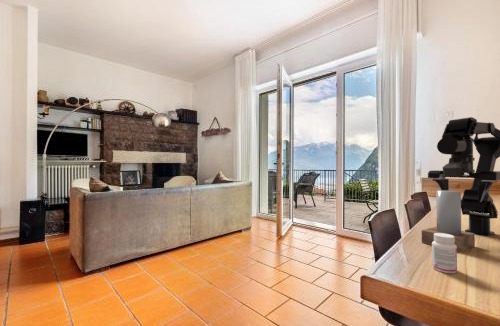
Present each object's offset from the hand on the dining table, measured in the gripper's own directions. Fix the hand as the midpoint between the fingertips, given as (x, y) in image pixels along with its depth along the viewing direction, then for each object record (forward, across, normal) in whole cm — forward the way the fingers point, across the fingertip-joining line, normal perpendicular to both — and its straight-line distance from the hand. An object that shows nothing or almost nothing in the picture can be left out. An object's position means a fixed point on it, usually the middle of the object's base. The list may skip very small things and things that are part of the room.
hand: (462, 200), depth 83 cm
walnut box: (+13, 0, -12) cm, 18 cm away
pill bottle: (+14, +9, -34) cm, 38 cm away
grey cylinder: (+9, +1, -12) cm, 15 cm away
